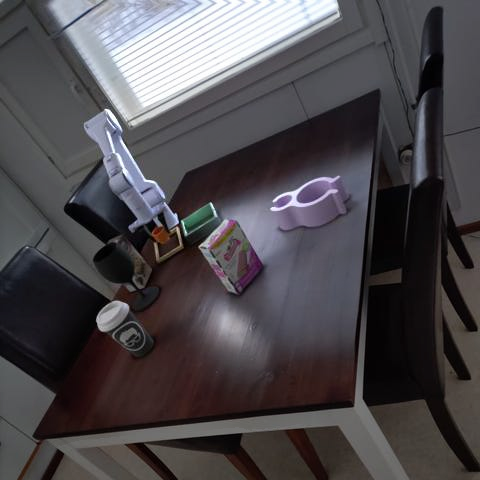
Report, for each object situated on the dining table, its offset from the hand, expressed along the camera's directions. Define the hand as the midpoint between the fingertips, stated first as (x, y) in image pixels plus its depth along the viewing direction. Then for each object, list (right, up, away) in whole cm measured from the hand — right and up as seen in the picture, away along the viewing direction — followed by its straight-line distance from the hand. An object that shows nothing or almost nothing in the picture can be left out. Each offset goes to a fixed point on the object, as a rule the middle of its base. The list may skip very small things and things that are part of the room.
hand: (162, 236), depth 156 cm
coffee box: (-6, -16, -4) cm, 17 cm away
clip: (+48, +1, -28) cm, 55 cm away
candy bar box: (+29, -18, -34) cm, 48 cm away
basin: (+15, +3, -1) cm, 15 cm away
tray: (+2, -3, +3) cm, 5 cm away
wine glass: (-3, -22, -14) cm, 26 cm away
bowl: (+1, -1, +1) cm, 2 cm away
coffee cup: (0, -36, -31) cm, 48 cm away
